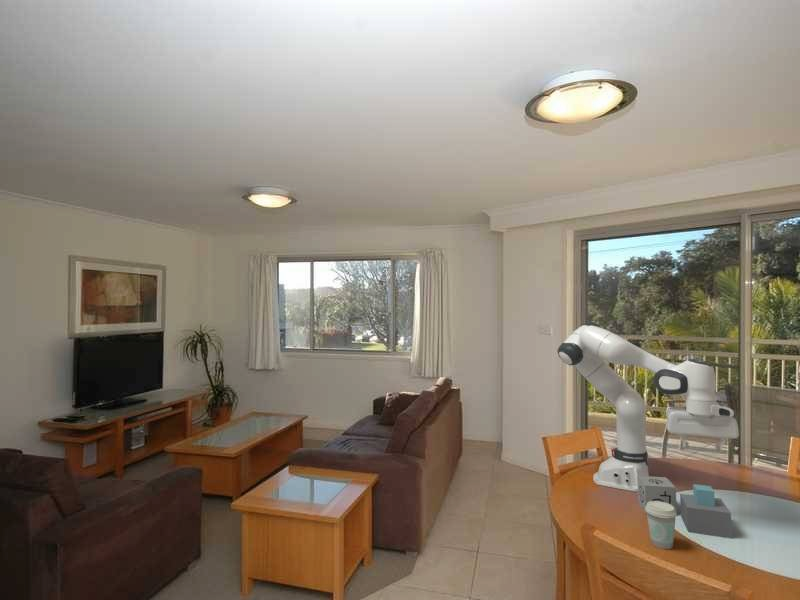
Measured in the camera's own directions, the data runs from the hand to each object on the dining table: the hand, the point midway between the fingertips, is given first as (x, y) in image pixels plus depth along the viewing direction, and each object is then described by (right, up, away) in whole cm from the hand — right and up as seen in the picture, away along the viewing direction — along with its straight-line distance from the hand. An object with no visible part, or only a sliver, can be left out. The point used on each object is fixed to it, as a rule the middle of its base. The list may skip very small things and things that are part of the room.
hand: (702, 448), depth 150 cm
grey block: (0, -26, -1) cm, 26 cm away
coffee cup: (-20, -26, -12) cm, 35 cm away
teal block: (0, -18, -1) cm, 18 cm away
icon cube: (-7, -27, +14) cm, 31 cm away
